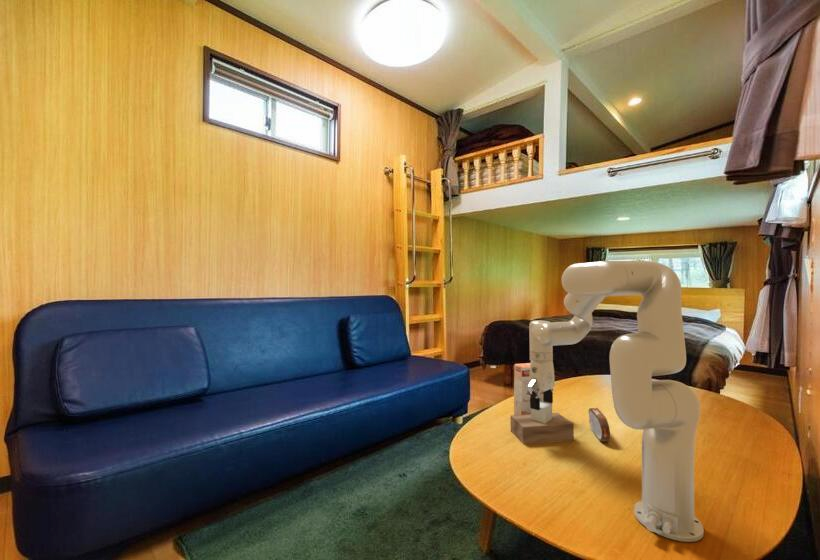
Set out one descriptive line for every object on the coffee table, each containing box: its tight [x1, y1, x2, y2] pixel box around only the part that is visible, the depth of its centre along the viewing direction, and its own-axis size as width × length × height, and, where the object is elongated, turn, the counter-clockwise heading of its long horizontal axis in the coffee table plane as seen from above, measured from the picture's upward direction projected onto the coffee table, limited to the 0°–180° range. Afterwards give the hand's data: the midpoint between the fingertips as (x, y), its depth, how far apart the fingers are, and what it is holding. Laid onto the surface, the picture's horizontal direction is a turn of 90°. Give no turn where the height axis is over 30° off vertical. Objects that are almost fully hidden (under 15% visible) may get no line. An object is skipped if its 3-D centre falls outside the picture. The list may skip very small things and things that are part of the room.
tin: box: [588, 407, 611, 443], centre depth 123 cm, size 15×3×8 cm, turn 168°
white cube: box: [531, 402, 553, 423], centre depth 123 cm, size 5×5×5 cm
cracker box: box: [513, 362, 553, 415], centre depth 140 cm, size 14×6×21 cm, turn 105°
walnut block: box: [510, 412, 575, 445], centre depth 123 cm, size 10×18×6 cm, turn 98°
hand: (541, 405), depth 123 cm, fingers open, 9 cm apart
